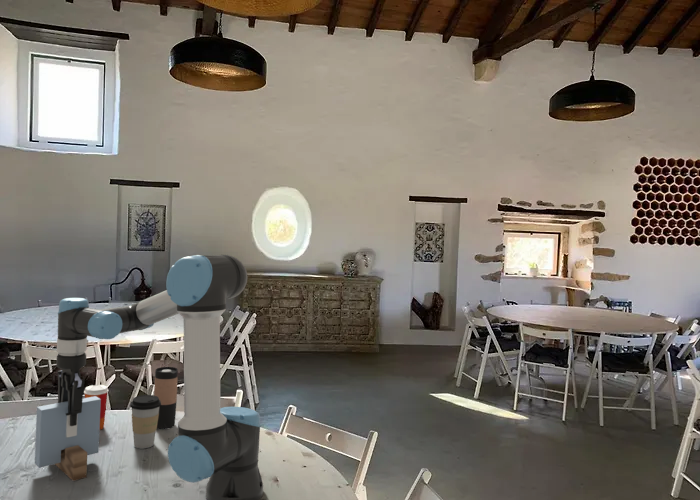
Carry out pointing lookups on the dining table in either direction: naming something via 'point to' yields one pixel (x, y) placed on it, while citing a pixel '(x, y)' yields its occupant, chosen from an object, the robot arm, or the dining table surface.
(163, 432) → the dining table surface
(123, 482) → the dining table surface
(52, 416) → the light blue slab
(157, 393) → the travel mug
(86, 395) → the paper cup
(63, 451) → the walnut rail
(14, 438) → the dining table surface
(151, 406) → the coffee cup
